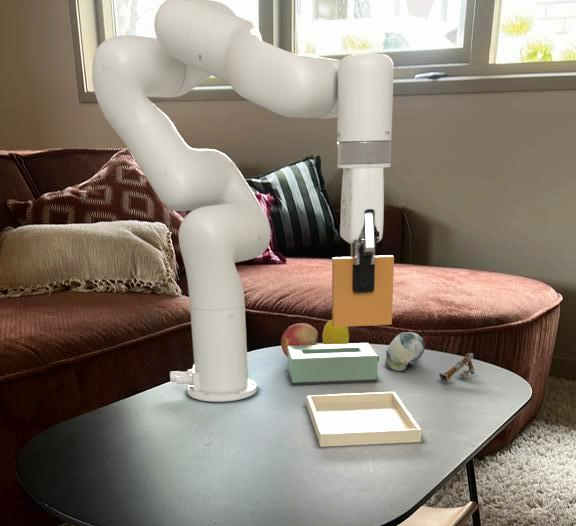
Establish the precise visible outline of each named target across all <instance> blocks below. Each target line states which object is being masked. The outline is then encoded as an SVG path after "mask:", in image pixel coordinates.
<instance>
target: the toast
mask: <svg viewBox="0 0 576 526" xmlns="http://www.w3.org/2000/svg"><path fill="white" fill-rule="evenodd" d="M331 261H332V262H331V277H332V278H331V301H332V302H331V304H332V305H331V313H332V314H331V320H332V325H333V327H367V326H368V327H369V326H389V325H392V324H393V300H394V299H393V298H394V297H393V296H394V274H395V273H394V272H395V271H394V270H395V269H394V267H395V256H394V255H392V254H390V255H388V254H387V255H386V254H385V255H383V254H382V255H375V262H374V264H375V279H374V291H373V292H366V293H354V292H353V290H352V289H353V265H355V257H351V256H340V257H339V256H335V257H331Z"/></svg>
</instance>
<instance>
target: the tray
mask: <svg viewBox="0 0 576 526" xmlns="http://www.w3.org/2000/svg"><path fill="white" fill-rule="evenodd" d="M306 408H307V411H308V413H309V417H310V420H311V423H312V426H313V429H314V432H315V435H316V437H317V441H318V444H319V447H321V448H322V447H323V448H325V447H344V446H361V445H362V446H365V445H366V446H368V445H385V444H408V443H409V444H411V443H421V442H422V432H423V431H422V428H421V426H420V425H419V423H418V422H417V421H416V420H415V418H414V416H413V415H412V414H411V413H410V411H409V410H408V408H407V407H406V406H405V404H404V402H403V401H402V400H401V398H400V397H399V395H398V394H397V393H396V392H395V391H380V392H378V391H377V392H356V393H333V394H332V393H331V394H311V395H309V394H308V395H306Z"/></svg>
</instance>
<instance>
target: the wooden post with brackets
mask: <svg viewBox="0 0 576 526" xmlns="http://www.w3.org/2000/svg"><path fill="white" fill-rule="evenodd" d="M473 359H474V353H473V352H470V353H469V352H468V353H466V354H464V357H463V358H462V359H461V360H460V361H457V362H456V363H455V364H454V365H452V367H451V368H450V369H449V370H447V371H445V372H444V373H443V372H439V373H438V375H439V379H440V382H441V383H443V384H444V383H445V384H446V385H447V384H449V383H450V381H449V380H450V378H451V377H452V376H454V374H456V373H457V372H459V371H460V370H461V369H463V368H464V366H467V367H468V369H466V370H462V372H460V373H459V379H460V380H462V379H466V378H467V377H469V374H471V375H474V374H475V367H474V366H473V362H472V360H473Z"/></svg>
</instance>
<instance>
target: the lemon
mask: <svg viewBox="0 0 576 526" xmlns="http://www.w3.org/2000/svg"><path fill="white" fill-rule="evenodd" d="M348 327H349V326H348ZM348 327H333V325H332V319H330V320H328V321H327V322H326V324H325V325H324V327H323V332H322V343H323V345H327V344H349V342H350V341H349V340H350V332H349V331H350V330H349V328H348Z"/></svg>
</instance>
